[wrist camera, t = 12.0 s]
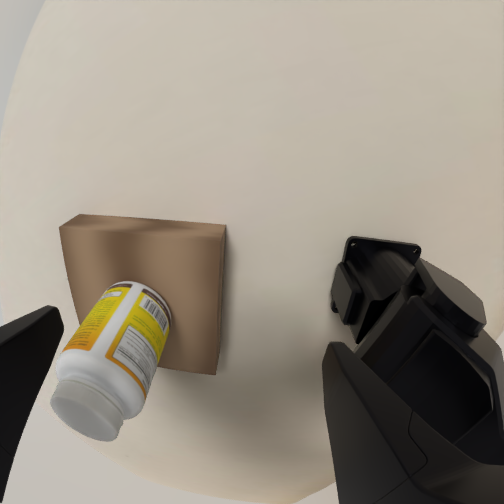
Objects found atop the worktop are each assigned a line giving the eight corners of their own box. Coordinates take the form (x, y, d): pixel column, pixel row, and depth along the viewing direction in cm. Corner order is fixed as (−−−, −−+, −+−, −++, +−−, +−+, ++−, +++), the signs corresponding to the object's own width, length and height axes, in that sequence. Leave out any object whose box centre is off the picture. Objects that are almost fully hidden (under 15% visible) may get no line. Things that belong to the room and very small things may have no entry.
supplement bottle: (101, 320, 21) (43, 417, 12) (111, 265, 19) (29, 367, 9) (164, 348, 22) (126, 459, 12) (183, 297, 20) (137, 423, 10)
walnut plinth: (225, 225, 21) (220, 241, 18) (219, 351, 26) (215, 375, 23) (79, 214, 20) (58, 227, 18) (100, 331, 25) (88, 351, 23)
